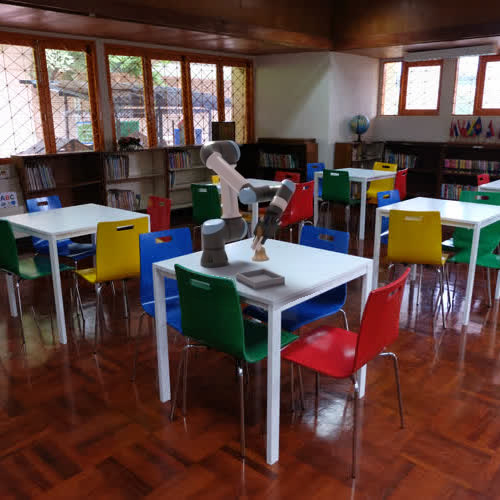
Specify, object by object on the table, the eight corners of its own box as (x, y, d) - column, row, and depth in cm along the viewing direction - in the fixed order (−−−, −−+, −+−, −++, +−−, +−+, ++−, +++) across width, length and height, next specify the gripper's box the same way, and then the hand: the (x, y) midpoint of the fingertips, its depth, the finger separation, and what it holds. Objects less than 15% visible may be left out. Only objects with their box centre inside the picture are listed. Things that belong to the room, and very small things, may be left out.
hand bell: (258, 262, 227) (258, 228, 223) (248, 259, 234) (247, 225, 230) (272, 259, 232) (272, 226, 228) (262, 256, 238) (261, 223, 235)
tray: (236, 280, 239) (236, 273, 238) (264, 274, 247) (264, 268, 246) (255, 290, 224) (255, 282, 223) (284, 284, 232) (284, 277, 231)
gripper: (292, 214, 235) (271, 256, 226) (267, 211, 244) (246, 251, 236) (286, 205, 229) (264, 246, 221) (260, 202, 239) (238, 242, 231)
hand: (254, 249), depth 228 cm, fingers closed on hand bell, 2 cm apart
